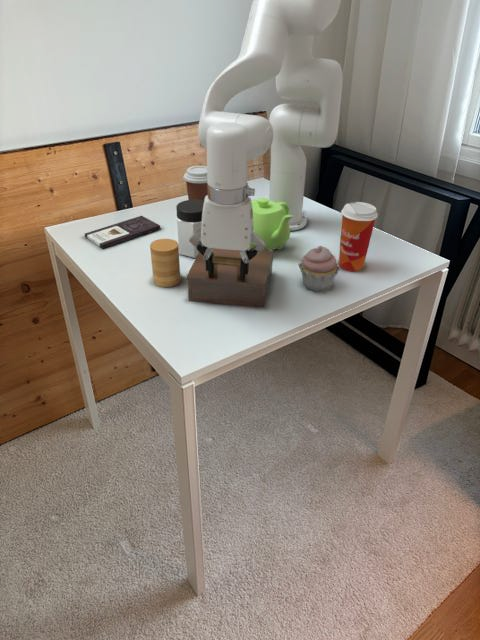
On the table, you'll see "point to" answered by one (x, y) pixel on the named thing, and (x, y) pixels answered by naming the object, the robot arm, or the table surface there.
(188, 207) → the jar
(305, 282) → the cupcake
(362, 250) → the coffee cup
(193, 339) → the table surface
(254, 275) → the lid
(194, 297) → the chest
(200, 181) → the coffee cup
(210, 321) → the table surface
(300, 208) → the robot arm
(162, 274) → the cookie stack
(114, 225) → the chocolate bar
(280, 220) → the teapot
